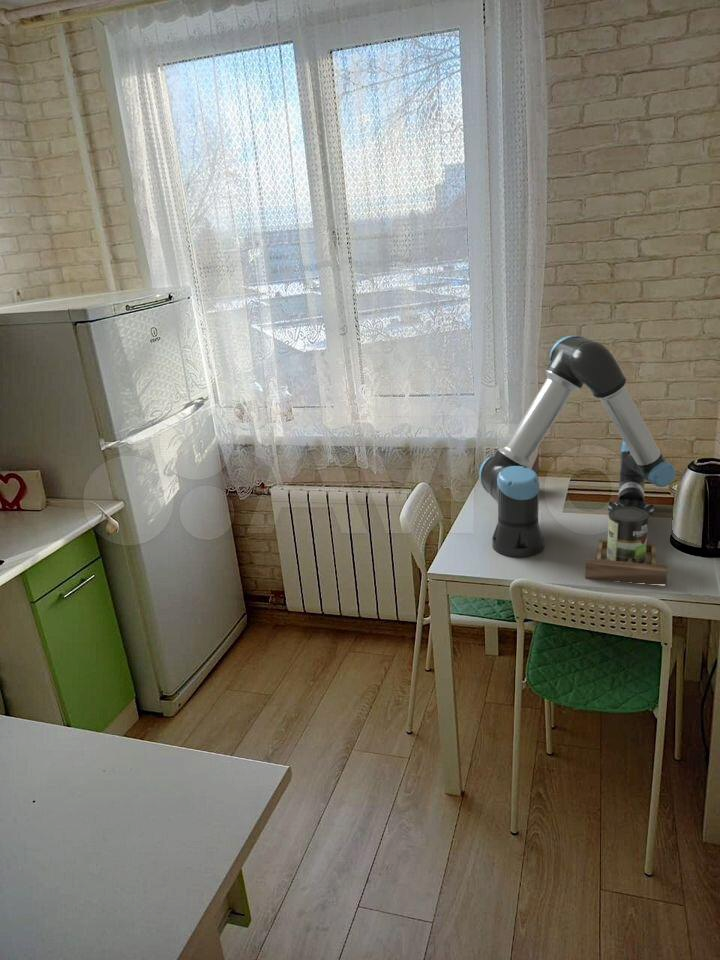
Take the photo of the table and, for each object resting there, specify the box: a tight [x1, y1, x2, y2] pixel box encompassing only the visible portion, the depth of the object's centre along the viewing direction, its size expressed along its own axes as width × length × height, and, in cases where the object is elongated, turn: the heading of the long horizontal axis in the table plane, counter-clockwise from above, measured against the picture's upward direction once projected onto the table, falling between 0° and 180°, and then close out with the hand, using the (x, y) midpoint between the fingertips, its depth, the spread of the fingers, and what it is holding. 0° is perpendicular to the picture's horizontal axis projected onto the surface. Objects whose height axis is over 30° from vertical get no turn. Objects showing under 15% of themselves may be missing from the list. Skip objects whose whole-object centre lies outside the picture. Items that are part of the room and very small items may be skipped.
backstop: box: [584, 557, 668, 585], centre depth 188 cm, size 3×20×5 cm, turn 69°
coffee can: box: [606, 507, 650, 564], centre depth 194 cm, size 10×10×14 cm
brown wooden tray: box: [596, 539, 657, 565], centre depth 197 cm, size 15×15×3 cm
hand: (629, 530), depth 199 cm, fingers closed
